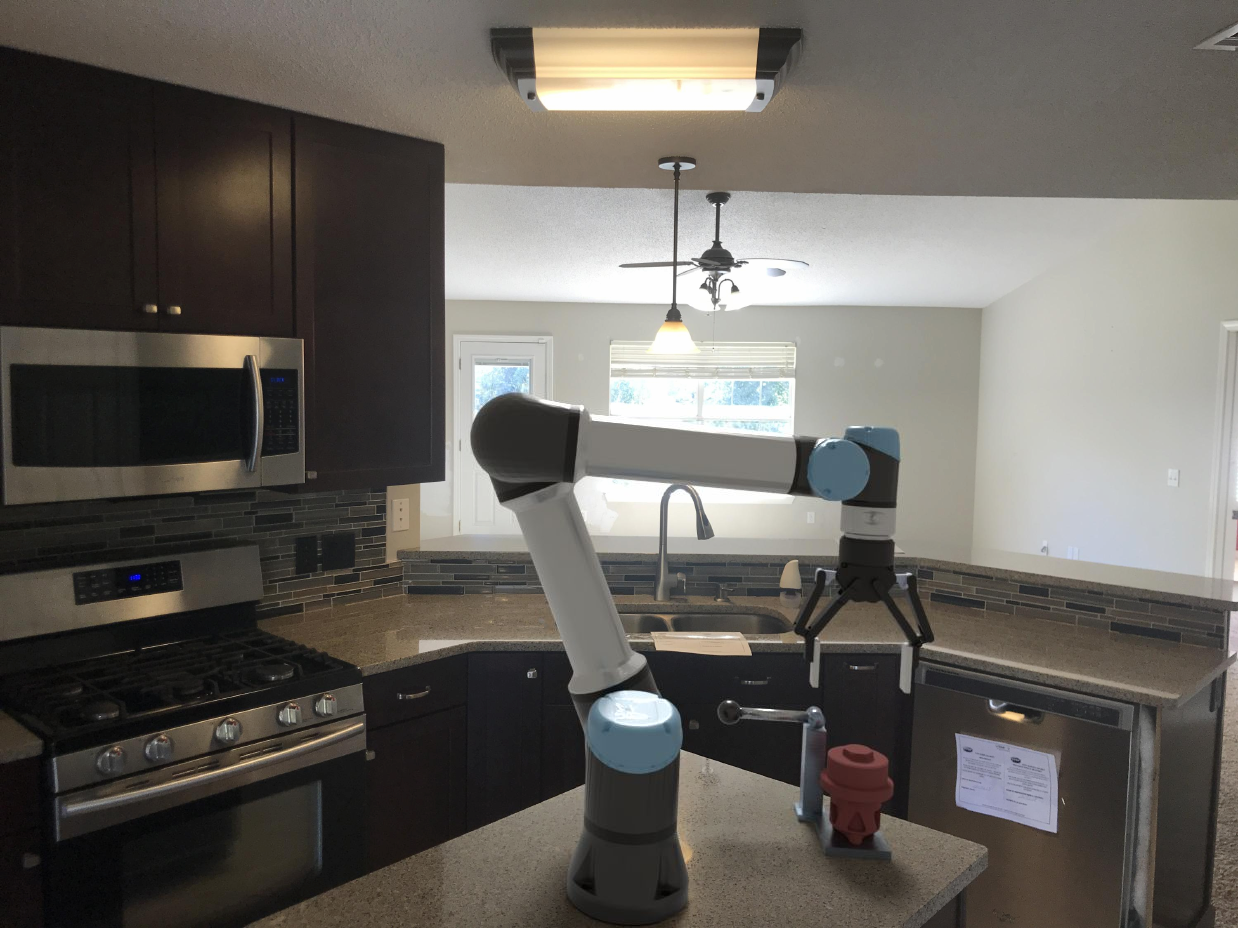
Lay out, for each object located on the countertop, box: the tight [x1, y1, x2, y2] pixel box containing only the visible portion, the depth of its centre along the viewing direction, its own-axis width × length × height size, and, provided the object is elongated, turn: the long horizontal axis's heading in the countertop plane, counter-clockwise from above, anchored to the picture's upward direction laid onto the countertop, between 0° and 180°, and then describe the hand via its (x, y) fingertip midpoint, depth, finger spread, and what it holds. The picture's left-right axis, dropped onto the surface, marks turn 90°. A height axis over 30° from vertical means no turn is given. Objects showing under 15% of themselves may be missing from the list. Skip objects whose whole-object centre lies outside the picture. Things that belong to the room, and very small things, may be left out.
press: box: [793, 722, 893, 861], centre depth 123 cm, size 11×15×14 cm
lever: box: [717, 699, 826, 729], centre depth 128 cm, size 16×4×4 cm, turn 86°
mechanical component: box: [820, 743, 894, 845], centre depth 120 cm, size 12×10×10 cm
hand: (859, 687), depth 119 cm, fingers open, 12 cm apart
